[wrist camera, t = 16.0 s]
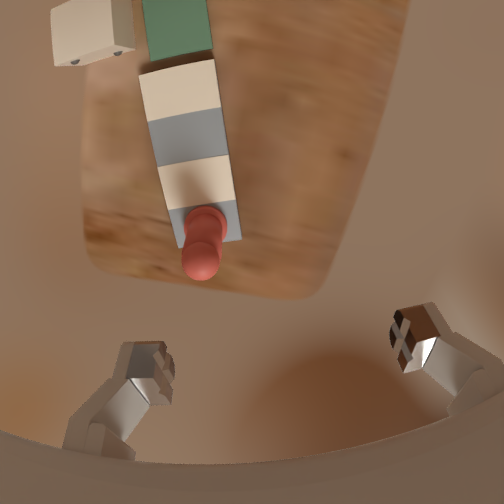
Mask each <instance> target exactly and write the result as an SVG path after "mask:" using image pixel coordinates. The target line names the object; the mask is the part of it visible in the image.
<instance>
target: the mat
mask: <svg viewBox="0 0 504 504" xmlns="http://www.w3.org/2000/svg"><path fill="white" fill-rule="evenodd" d="M142 3H143V11H144V19H145V26H146V33H147V40H148V47H149V53H150V59H151V61H156V60H160V59H164V58H169V57H173V56H177V55H182V54H187V53H192V52H197V51H203V50H208V49H213V45H212V38H211V31H210V25H209V18H208V11H207V4H206V0H142Z"/></svg>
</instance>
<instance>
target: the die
mask: <svg viewBox="0 0 504 504" xmlns="http://www.w3.org/2000/svg"><path fill="white" fill-rule="evenodd" d="M51 32H52V46H53V56H54V65H55V66H75V65H76V66H77V65H86V64H89V63H92V62H95V61H98V60H101V59H104V58H107V57H111V56H114V55H115V56H119V55H121V54H122V53H125V52H128V51H132V50H136V45H135V35H134V24H133V12H132V0H70V1H68V2H66V3H64V4H62V5H59V6H57V7H55V8H53V9H51Z"/></svg>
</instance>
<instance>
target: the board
mask: <svg viewBox="0 0 504 504" xmlns="http://www.w3.org/2000/svg"><path fill="white" fill-rule="evenodd" d="M139 80H140V86H141V91H142V97H143V102H144V107H145V112H146V117H147V122H148V126H149V131H150V135H151V140H152V145H153V149H154V154H155V158H156V162H157V167H158V172H159V176H160V180H161V184H162V188H163V192H164V196H165V200H166V204H167V208H168V211H169V215H170V219H171V222H172V226H173V230H174V234H175V237H176V241H177V244H178V248H183V245H184V241H185V237H186V236H185V233H184V223H185V219H186V217H187V215H188V213H189V212H190V211H191V210H192V209H194V208H196V207H198V206H203V205H208V206H213V207H215V208H217V209H219V210H220V211H221V212H222V213H223V214H224V216H225V217H226V220H227V234H226V237H225V238H224V240H223V241H222V242H227V241H235V240H242V232H241V226H240V220H239V214H238V207H237V201H236V195H235V188H234V182H233V176H232V169H231V163H230V157H229V150H228V144H227V137H226V131H225V124H224V118H223V111H222V105H221V98H220V92H219V85H218V78H217V72H216V65H215V60H214V59H212V60H206V61H200V62H195V63H190V64H185V65H180V66H175V67H171V68H167V69H162V70H158V71H154V72H150V73H147V74H143V75H139Z"/></svg>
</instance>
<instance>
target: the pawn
mask: <svg viewBox="0 0 504 504" xmlns="http://www.w3.org/2000/svg"><path fill="white" fill-rule="evenodd" d="M184 233H185V236H186V237H185V241H184V245H183V249H182V267H183V269H184V271H185V273H186V274H187V275H188V276H189V277H191V278H193V279H195V280H206V279H209V278H211V277H212V276H213V275H214V274H215V273H216V272H217V270H218V268H219V264H220V260H221V253H222V241H223V240H224V238H225V237H226V234H227V220H226V217H225V216H224V214H223V213H222V212H221V211H220V210H219V209H217V208H215V207H213V206H208V205H203V206H198V207H196V208H194V209H192V210H191V211H190V212H189V213H188V215H187V217H186V219H185V223H184Z"/></svg>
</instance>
